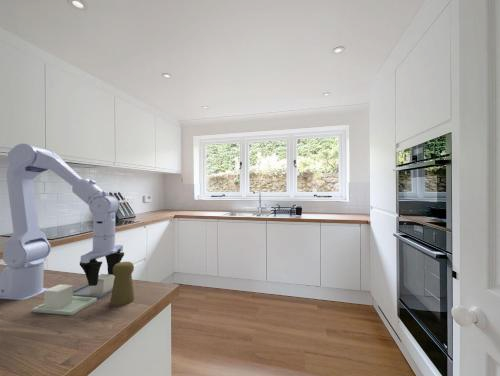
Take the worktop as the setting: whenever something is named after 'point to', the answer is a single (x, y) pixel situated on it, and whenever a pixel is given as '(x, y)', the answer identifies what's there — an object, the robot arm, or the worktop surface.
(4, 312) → the worktop surface
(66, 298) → the stone block
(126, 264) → the cork
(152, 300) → the worktop surface
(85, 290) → the tray
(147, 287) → the worktop surface
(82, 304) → the tray
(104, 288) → the stone block
